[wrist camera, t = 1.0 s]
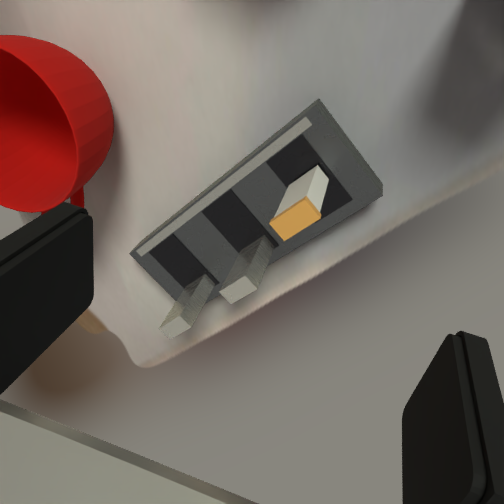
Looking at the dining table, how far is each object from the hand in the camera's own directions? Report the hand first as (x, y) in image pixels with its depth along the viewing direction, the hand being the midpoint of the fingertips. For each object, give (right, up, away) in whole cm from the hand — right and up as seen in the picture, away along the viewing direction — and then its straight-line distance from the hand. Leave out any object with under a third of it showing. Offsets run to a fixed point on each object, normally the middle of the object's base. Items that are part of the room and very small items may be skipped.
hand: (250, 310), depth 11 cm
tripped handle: (+5, +7, +25) cm, 26 cm away
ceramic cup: (-16, +14, +31) cm, 37 cm away
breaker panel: (0, +5, +31) cm, 31 cm away
